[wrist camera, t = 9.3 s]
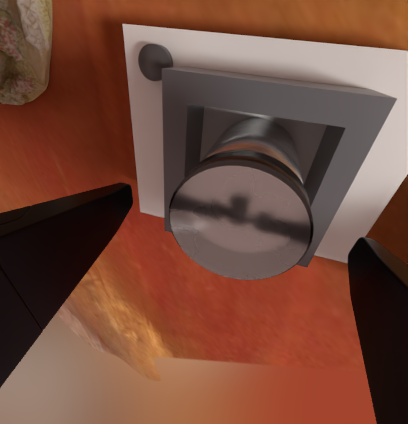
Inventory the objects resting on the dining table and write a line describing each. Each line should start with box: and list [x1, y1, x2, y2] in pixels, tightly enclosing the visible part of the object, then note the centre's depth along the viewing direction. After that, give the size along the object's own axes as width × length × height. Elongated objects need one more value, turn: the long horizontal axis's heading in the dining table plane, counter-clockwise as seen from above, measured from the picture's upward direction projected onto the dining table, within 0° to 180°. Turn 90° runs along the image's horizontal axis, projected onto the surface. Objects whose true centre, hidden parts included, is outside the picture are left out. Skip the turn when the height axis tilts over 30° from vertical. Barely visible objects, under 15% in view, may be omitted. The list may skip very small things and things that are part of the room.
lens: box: [169, 118, 314, 280], centre depth 11 cm, size 5×5×7 cm
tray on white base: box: [122, 24, 408, 267], centre depth 14 cm, size 16×12×7 cm
